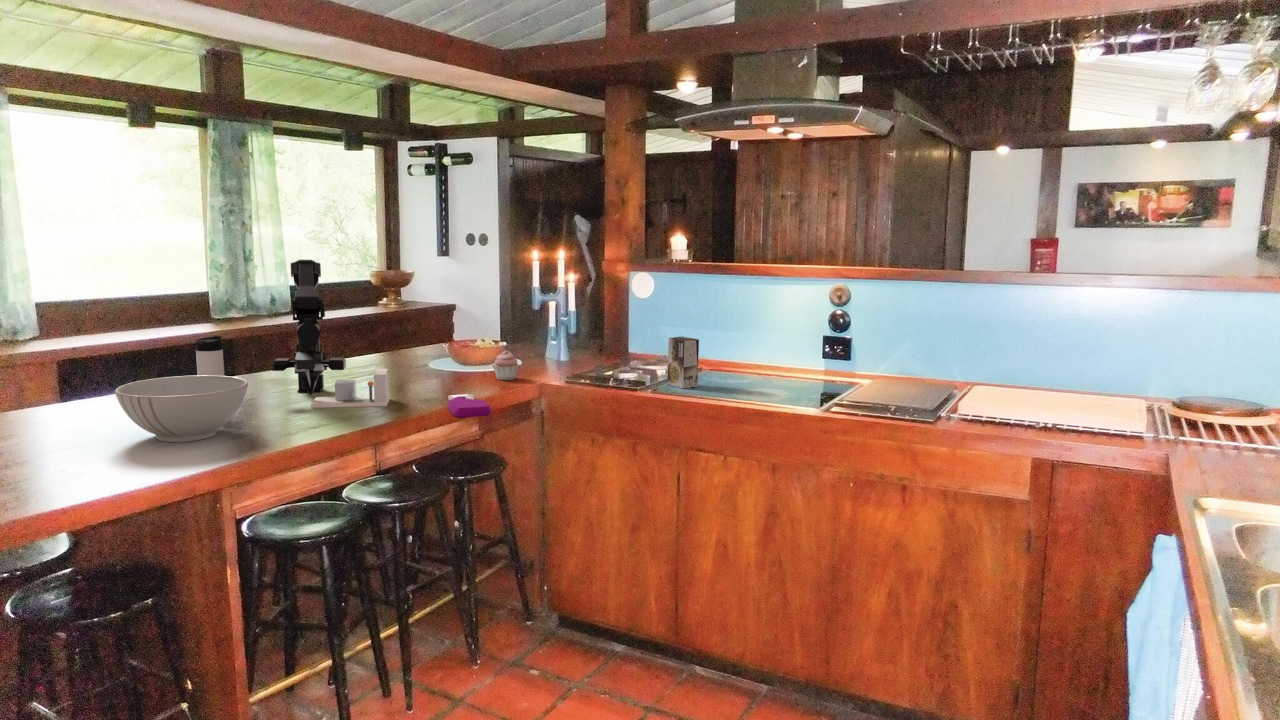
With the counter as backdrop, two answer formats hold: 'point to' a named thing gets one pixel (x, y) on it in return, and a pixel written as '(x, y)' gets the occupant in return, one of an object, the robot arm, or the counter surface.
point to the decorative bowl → (182, 405)
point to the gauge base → (360, 401)
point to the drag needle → (370, 389)
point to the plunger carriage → (345, 389)
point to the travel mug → (210, 356)
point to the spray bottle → (467, 406)
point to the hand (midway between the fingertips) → (310, 394)
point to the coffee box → (683, 362)
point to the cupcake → (506, 366)
